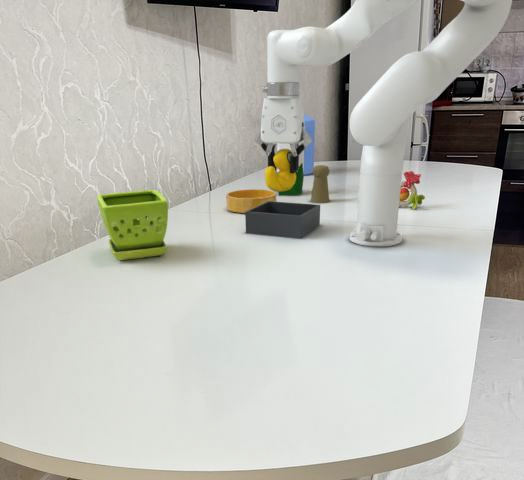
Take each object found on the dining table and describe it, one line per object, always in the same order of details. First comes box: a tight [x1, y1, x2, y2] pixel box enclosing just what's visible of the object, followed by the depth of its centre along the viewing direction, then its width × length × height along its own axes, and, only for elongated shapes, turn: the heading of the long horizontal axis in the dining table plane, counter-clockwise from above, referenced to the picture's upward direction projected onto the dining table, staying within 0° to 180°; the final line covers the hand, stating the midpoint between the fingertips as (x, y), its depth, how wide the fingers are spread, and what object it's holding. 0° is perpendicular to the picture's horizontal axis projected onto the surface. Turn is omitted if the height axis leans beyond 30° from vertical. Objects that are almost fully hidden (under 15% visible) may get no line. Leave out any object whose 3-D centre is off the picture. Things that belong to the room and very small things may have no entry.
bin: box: [244, 201, 321, 239], centre depth 137 cm, size 14×15×6 cm
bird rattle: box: [399, 170, 426, 210], centre depth 156 cm, size 6×11×9 cm
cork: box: [310, 164, 330, 204], centre depth 167 cm, size 6×6×11 cm
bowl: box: [225, 188, 277, 214], centre depth 161 cm, size 15×15×4 cm
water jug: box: [304, 113, 316, 176], centre depth 217 cm, size 16×16×28 cm
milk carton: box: [276, 140, 305, 196], centre depth 178 cm, size 9×9×20 cm
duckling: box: [264, 149, 296, 193], centre depth 132 cm, size 11×5×10 cm, turn 133°
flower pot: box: [96, 189, 169, 261], centre depth 118 cm, size 14×14×13 cm
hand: (283, 171), depth 132 cm, fingers closed on duckling, 5 cm apart
